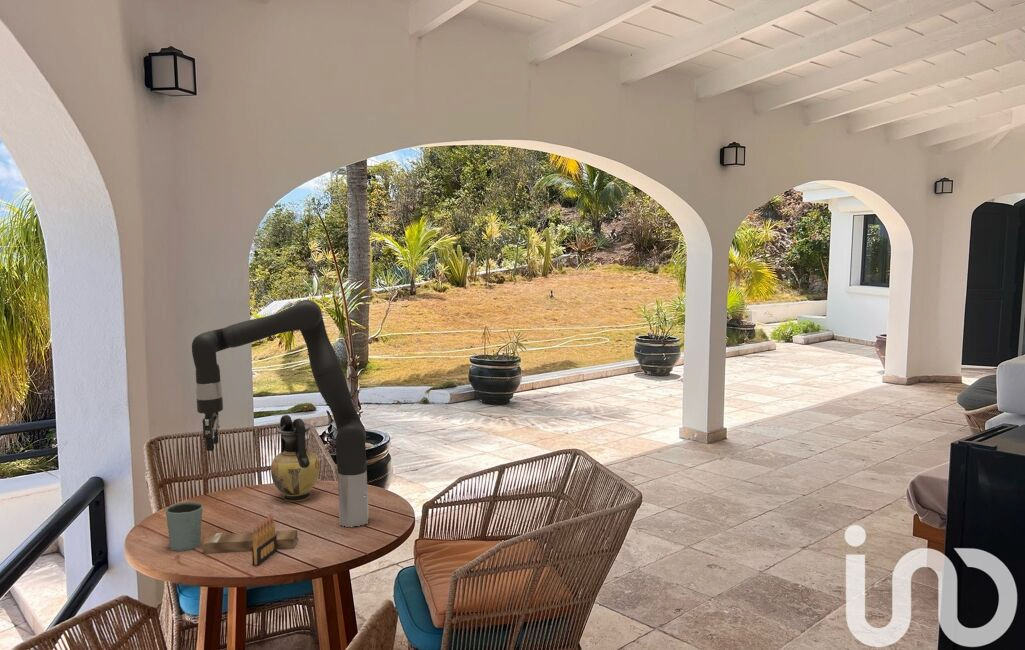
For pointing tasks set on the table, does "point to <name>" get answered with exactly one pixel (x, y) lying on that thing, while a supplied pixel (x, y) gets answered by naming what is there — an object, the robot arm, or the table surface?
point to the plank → (245, 541)
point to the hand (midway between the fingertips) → (212, 447)
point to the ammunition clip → (264, 540)
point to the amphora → (294, 462)
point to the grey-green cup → (184, 525)
